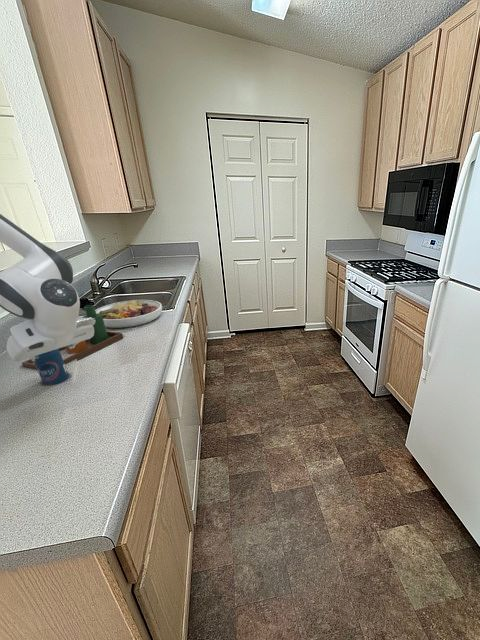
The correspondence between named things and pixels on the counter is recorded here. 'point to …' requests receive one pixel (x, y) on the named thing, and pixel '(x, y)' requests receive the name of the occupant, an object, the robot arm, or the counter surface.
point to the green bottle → (96, 325)
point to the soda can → (51, 367)
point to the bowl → (129, 313)
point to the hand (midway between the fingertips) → (52, 352)
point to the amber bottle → (77, 348)
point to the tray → (90, 350)
